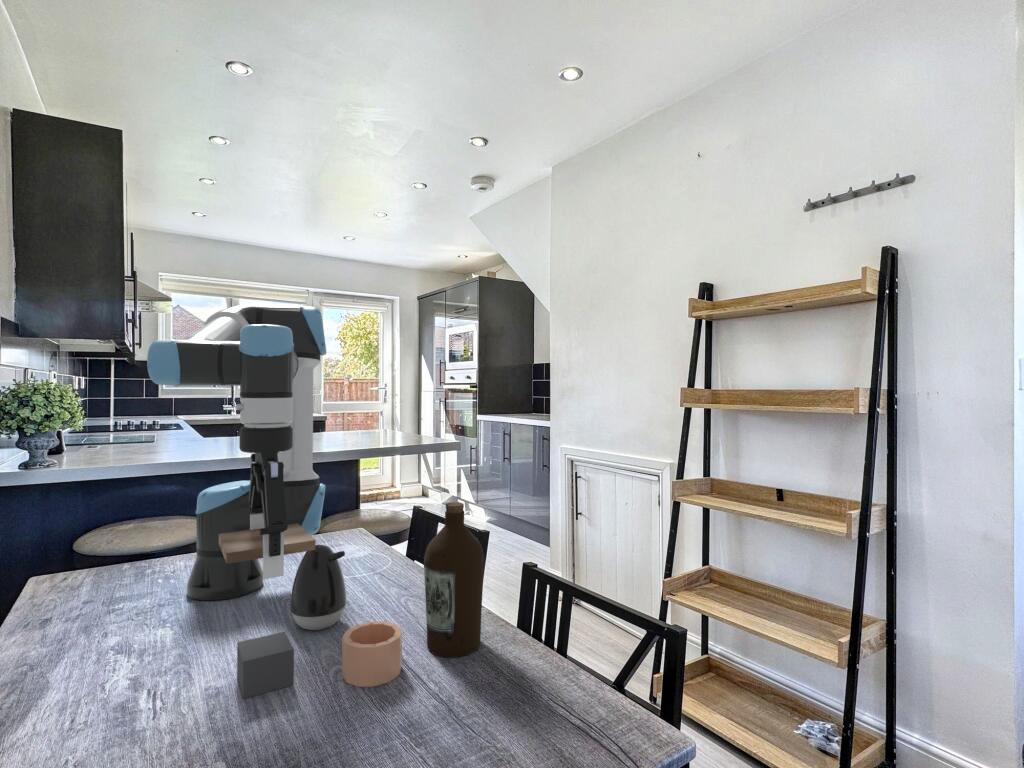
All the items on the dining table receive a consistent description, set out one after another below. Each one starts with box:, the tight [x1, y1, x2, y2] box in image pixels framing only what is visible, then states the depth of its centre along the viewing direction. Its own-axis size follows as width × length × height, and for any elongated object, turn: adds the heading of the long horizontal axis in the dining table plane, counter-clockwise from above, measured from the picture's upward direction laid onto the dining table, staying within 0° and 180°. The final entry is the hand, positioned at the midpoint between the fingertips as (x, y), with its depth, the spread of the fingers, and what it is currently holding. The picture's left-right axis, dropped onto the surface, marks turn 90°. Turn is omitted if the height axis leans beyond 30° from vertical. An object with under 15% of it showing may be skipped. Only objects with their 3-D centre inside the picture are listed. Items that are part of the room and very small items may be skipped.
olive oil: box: [423, 501, 485, 658], centre depth 97 cm, size 11×11×25 cm
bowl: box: [341, 620, 403, 688], centre depth 88 cm, size 9×9×6 cm
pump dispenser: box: [289, 544, 347, 631], centre depth 105 cm, size 10×10×15 cm
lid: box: [219, 524, 316, 564], centre depth 85 cm, size 12×12×2 cm
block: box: [236, 631, 295, 700], centre depth 85 cm, size 7×7×6 cm
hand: (265, 564), depth 85 cm, fingers closed on lid, 12 cm apart
